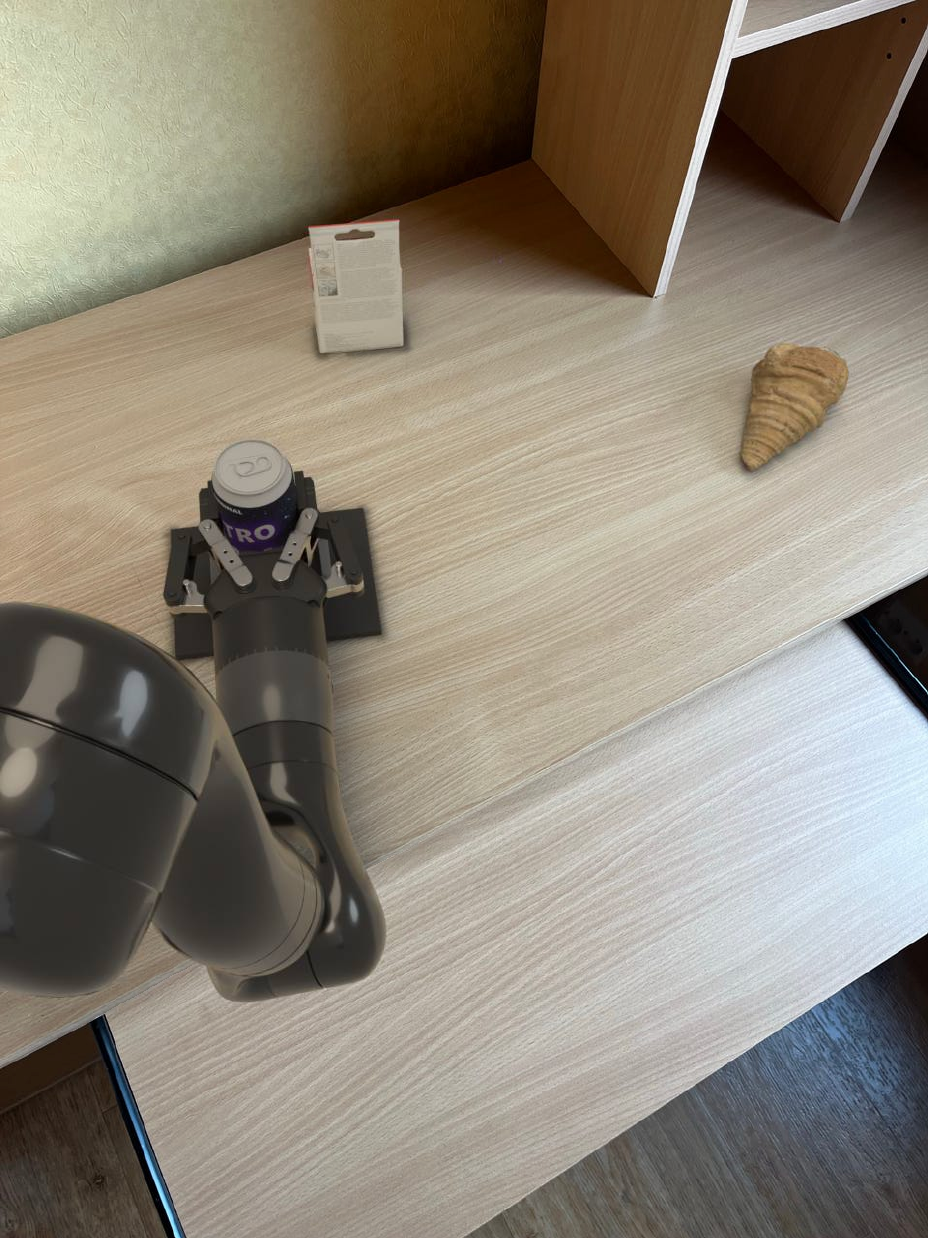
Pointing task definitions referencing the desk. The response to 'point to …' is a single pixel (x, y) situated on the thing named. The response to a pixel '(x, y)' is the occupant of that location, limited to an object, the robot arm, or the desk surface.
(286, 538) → the beverage can
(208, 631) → the socket pad
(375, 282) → the ink box
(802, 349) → the seashell
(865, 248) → the desk surface
